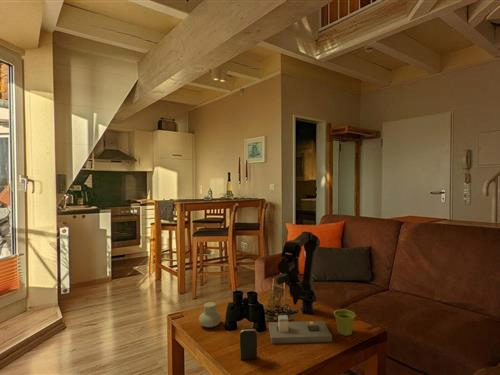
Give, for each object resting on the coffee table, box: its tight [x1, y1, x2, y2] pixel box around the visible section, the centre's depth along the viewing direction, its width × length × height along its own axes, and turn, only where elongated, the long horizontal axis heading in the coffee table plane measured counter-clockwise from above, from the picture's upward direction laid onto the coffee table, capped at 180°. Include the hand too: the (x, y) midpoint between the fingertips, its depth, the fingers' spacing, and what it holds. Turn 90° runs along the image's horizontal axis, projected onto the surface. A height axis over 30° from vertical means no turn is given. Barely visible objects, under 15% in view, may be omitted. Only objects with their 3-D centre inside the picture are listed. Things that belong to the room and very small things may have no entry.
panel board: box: [268, 320, 333, 344], centre depth 137 cm, size 14×26×3 cm, turn 91°
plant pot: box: [333, 309, 356, 337], centre depth 138 cm, size 9×9×9 cm
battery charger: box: [239, 327, 258, 361], centre depth 120 cm, size 7×4×11 cm, turn 94°
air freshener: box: [198, 301, 223, 328], centre depth 147 cm, size 11×8×10 cm
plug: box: [277, 314, 289, 333], centre depth 137 cm, size 4×4×8 cm
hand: (293, 300), depth 145 cm, fingers open, 9 cm apart
